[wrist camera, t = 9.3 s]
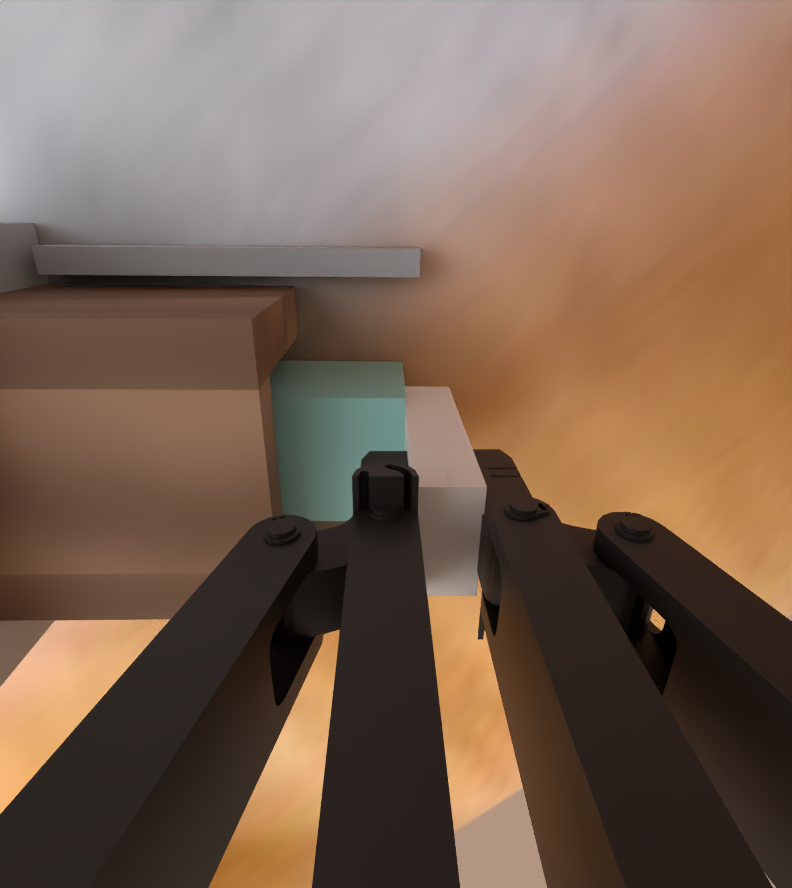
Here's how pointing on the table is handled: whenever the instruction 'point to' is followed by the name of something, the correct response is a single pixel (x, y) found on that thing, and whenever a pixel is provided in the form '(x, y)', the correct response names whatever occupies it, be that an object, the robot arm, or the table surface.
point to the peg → (332, 429)
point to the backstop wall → (27, 265)
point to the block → (133, 441)
